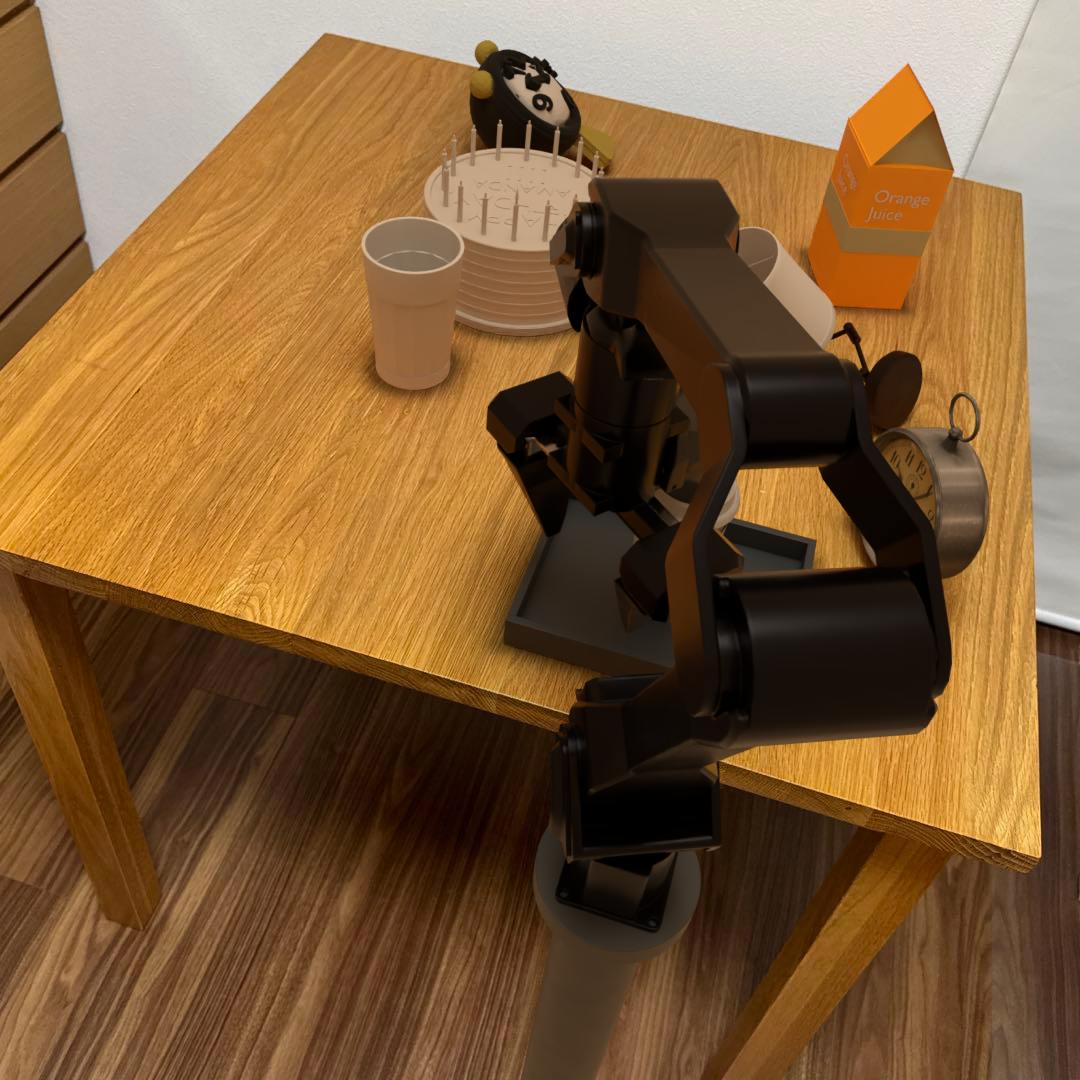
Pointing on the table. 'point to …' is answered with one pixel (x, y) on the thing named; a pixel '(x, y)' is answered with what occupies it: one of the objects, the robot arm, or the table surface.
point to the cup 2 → (682, 497)
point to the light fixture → (832, 327)
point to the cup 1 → (412, 298)
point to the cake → (508, 230)
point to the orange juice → (881, 198)
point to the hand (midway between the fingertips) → (591, 579)
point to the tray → (614, 592)
